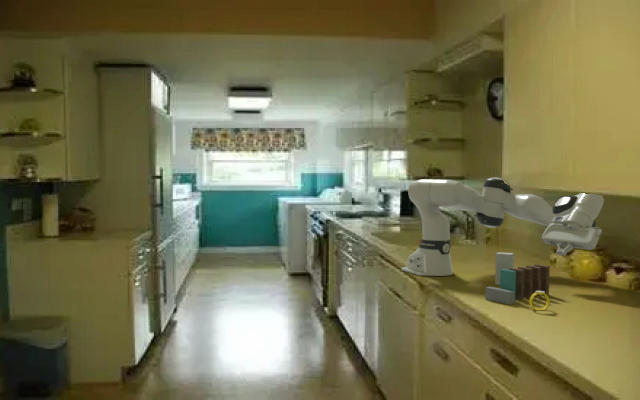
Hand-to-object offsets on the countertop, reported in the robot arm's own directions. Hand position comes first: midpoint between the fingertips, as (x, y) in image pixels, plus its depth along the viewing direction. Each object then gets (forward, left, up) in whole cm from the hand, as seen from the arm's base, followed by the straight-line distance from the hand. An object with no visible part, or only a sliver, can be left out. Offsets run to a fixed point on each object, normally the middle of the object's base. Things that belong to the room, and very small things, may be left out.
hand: (560, 254), depth 225 cm
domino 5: (0, -10, -13) cm, 17 cm away
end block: (0, -32, -13) cm, 35 cm away
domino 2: (0, -24, -13) cm, 27 cm away
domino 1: (0, -28, -13) cm, 31 cm away
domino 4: (0, -15, -13) cm, 20 cm away
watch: (+15, -32, -13) cm, 38 cm away
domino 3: (0, -19, -13) cm, 23 cm away
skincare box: (-18, -8, -13) cm, 24 cm away
